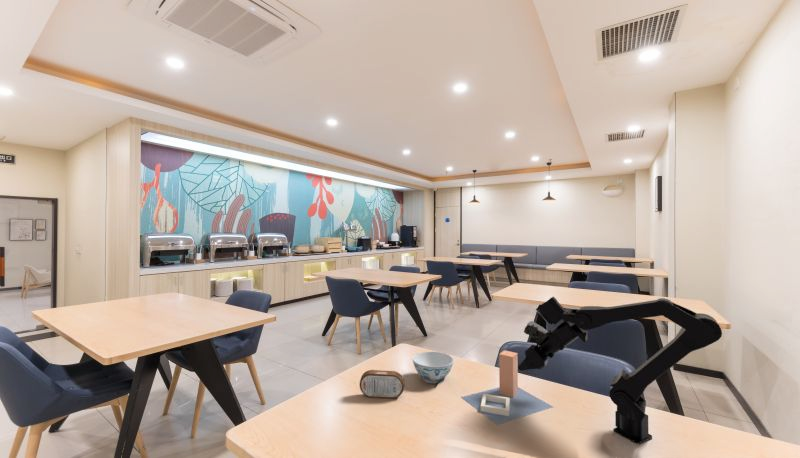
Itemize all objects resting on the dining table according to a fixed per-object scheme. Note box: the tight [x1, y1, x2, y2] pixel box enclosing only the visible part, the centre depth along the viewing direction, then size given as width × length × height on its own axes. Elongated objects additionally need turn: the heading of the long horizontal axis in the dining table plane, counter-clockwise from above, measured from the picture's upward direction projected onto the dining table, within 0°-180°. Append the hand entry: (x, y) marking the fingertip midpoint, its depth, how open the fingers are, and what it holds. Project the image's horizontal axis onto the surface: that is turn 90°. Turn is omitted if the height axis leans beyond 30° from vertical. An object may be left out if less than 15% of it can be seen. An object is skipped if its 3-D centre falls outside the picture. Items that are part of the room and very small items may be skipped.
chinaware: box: [412, 351, 454, 384], centre depth 122 cm, size 15×15×8 cm
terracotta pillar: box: [498, 349, 519, 398], centre depth 109 cm, size 4×4×13 cm
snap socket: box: [481, 394, 510, 416], centre depth 100 cm, size 8×8×2 cm
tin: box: [359, 369, 406, 400], centre depth 109 cm, size 15×3×8 cm, turn 84°
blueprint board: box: [460, 386, 554, 426], centre depth 103 cm, size 17×22×1 cm
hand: (523, 364), depth 106 cm, fingers open, 9 cm apart
